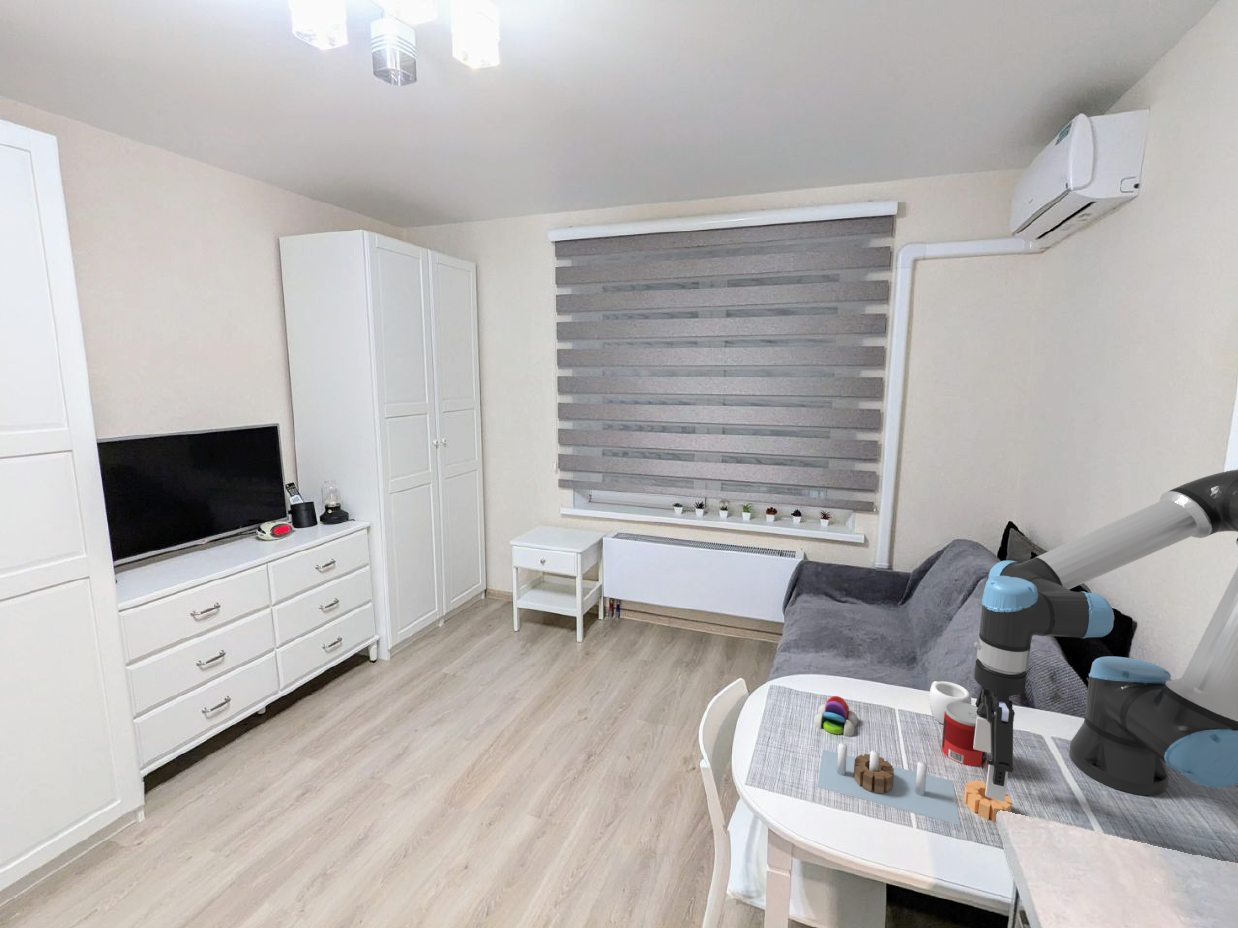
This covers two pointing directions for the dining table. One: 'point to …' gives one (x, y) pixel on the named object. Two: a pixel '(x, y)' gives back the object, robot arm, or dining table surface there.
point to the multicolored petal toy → (836, 717)
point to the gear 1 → (873, 774)
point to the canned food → (961, 734)
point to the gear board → (907, 791)
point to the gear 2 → (984, 801)
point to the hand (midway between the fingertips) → (987, 772)
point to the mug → (946, 697)
